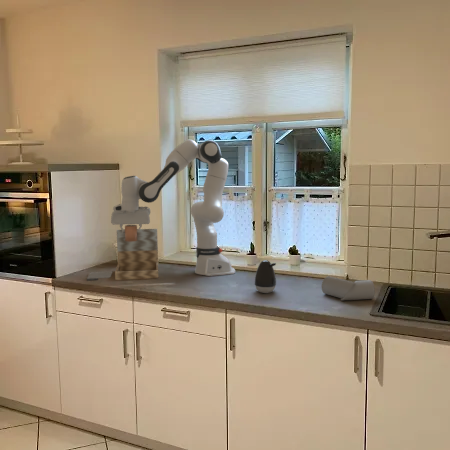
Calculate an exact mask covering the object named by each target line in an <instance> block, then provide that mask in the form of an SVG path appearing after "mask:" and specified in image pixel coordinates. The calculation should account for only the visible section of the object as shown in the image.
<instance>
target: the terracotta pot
mask: <svg viewBox="0 0 450 450" xmlns="http://www.w3.org/2000/svg"><path fill="white" fill-rule="evenodd" d="M124 229H125V241H129V242H131V241H137V229H138V224H124Z"/></svg>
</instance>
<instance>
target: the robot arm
mask: <svg viewBox="0 0 450 450" xmlns="http://www.w3.org/2000/svg"><path fill="white" fill-rule="evenodd" d="M195 159H196V160H197V161H200V162H201V163H204V164H207V165H208V169H207V172H206V173H207V174H206V176H205V180H204V182H203V186H202V187H203V188H202V191H203V201H202V200H200V201H196V202H194V203H193V204H192V205H191V208H190V215H191V217H192V218H193V221H194V225H195V232H196V248H195V252H196V253H195V256H196V264H195V268H194V273H195V274H196V275H201V276H202V275H203V276H206V277H211V276H212V277H214V276H222V275H233V274H235V273H236V269H235V268H234V267H232V264H231V261H230V259H229V258H227V257H226V256H225V255H223V254H222V253H223V249H222V248H221V247H219V246H218V232H217V230H216V228H215V225H214V224H216V223H217V224H218V223H220V222H221V221H222V220H223V218H224V213H225V212H224V208H223V194H224V189H225V185H226V181H227V179H228V173H229V162H228V161H227V160H226V159H225V158H222V152H221V148H220V146H219V144H218V143H217V142H216V141H214V140H212V139H211V140H210V139H208V140H205V141H203V142H202V143H197V142H196V141H195V140H193V139H189V138H188V139H186V140H184V141H183V142H181V143H179V144H178V145H177V146H176V147H175V148H174V149H173V150H172V151H171V152H169V155H168V156H167V157H166V158H165V164H164V166H163V169H161V171H160V172H159V173H158V174H157V175H155V177H154V178H153V179H152V180H151V181H146V180H144V179H142V178H140V177H138V176H137V175H130V176H125V177H123V179H122V181H121V192H120V193H121V203H119V204H117V205H114V206H113V209H112V210H113V211H112V213H111V219H110V223H111V224H112V225H115V226H116V225H118V226H119V228H120V230H122V233H125V228H123V225H138V226H139V228H137V233H140V229H142V226H143V225H149V224H150V223H151V219H150V215H151V209H150V207H148V206H140V204H139V202H140V200H141V201H142V202H144V203H149V204H150V203H153V202H155V201H156V200H157V199H158V197H159V196H160V192H161V190H162V189H163V188H164V187H165V186H166V185H167V184H168V183H169V181H170V180H171V179H172V178H173V177H175V176H176V175H177V174H178V173H180V172H181V171H182V170H184V169H185V168H186V167H187V166H189V165H190V164H191V163H192V161H193V160H195Z"/></svg>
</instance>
